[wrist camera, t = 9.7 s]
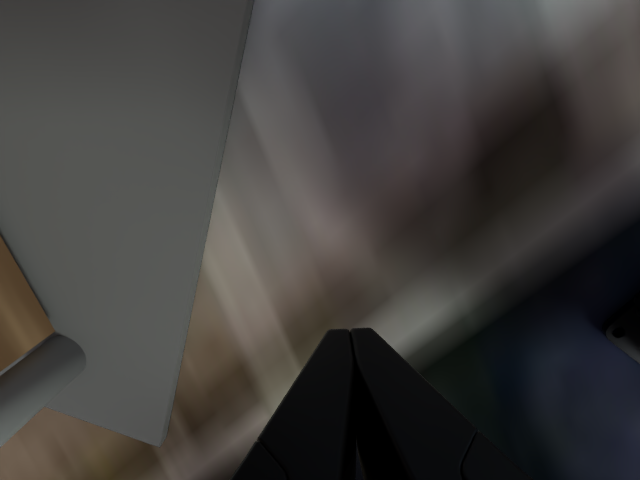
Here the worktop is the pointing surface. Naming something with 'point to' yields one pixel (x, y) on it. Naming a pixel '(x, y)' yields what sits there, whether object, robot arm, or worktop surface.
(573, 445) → the worktop surface
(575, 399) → the worktop surface
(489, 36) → the worktop surface
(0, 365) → the gate leaf
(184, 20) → the grey base plate
